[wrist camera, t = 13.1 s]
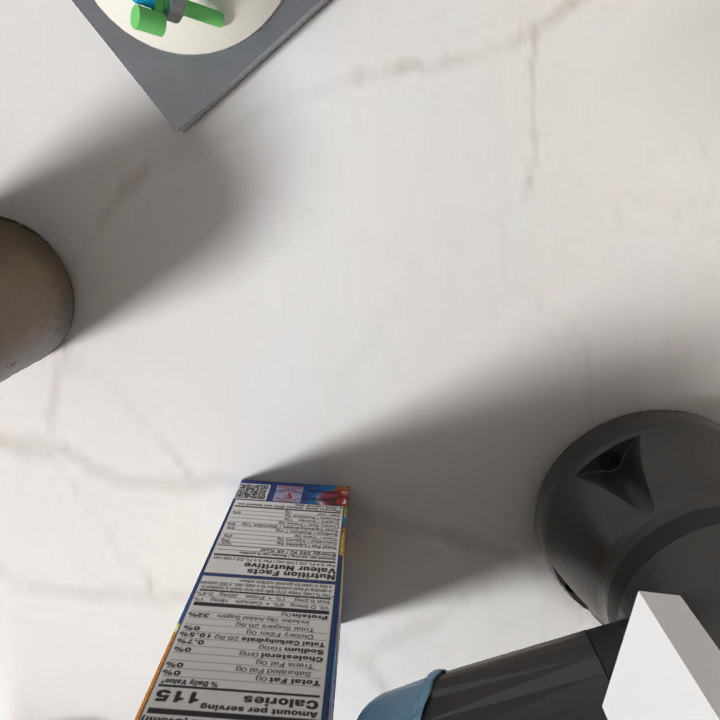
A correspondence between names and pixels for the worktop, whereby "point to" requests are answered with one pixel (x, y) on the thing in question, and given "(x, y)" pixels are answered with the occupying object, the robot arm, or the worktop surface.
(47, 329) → the pillar candle
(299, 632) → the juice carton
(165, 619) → the worktop surface
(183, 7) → the gear
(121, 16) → the disc
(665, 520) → the robot arm
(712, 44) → the worktop surface
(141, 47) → the carrier plate
